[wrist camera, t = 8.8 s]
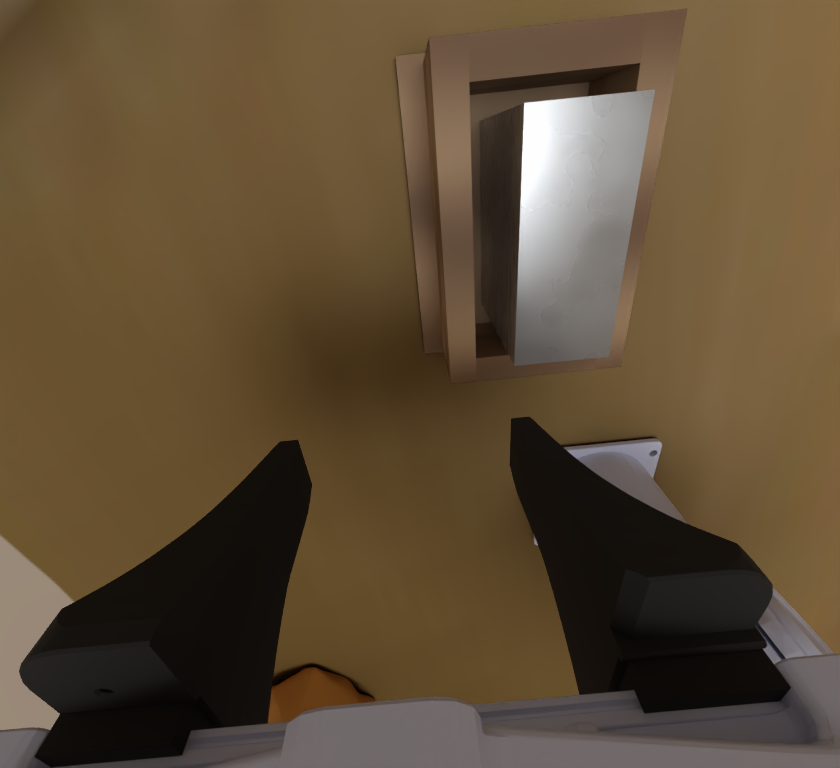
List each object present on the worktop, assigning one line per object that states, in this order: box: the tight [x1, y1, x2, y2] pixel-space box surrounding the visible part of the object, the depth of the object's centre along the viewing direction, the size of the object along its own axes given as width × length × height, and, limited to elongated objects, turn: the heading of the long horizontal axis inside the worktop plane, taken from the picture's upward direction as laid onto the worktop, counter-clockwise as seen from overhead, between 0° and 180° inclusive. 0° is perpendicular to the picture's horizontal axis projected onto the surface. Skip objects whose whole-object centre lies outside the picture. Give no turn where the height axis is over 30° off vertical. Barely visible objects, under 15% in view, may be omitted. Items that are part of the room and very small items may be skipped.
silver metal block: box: [480, 90, 655, 366], centre depth 16 cm, size 8×4×7 cm, turn 5°
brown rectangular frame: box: [396, 9, 687, 384], centre depth 17 cm, size 13×10×4 cm
